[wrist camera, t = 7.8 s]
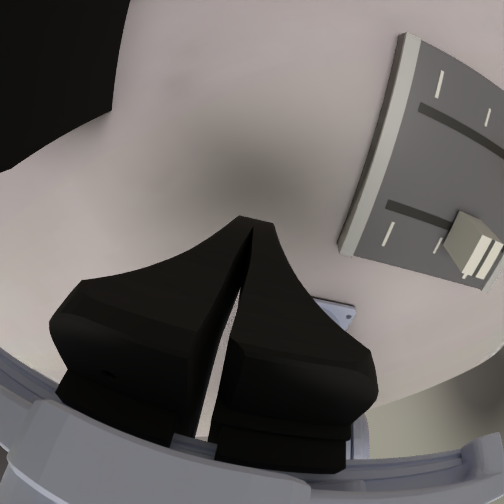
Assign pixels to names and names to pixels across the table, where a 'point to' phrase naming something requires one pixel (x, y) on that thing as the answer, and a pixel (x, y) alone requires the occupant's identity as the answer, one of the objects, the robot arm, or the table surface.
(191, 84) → the table surface
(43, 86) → the uninterruptible power supply
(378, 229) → the fader board
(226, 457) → the robot arm
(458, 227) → the fader
